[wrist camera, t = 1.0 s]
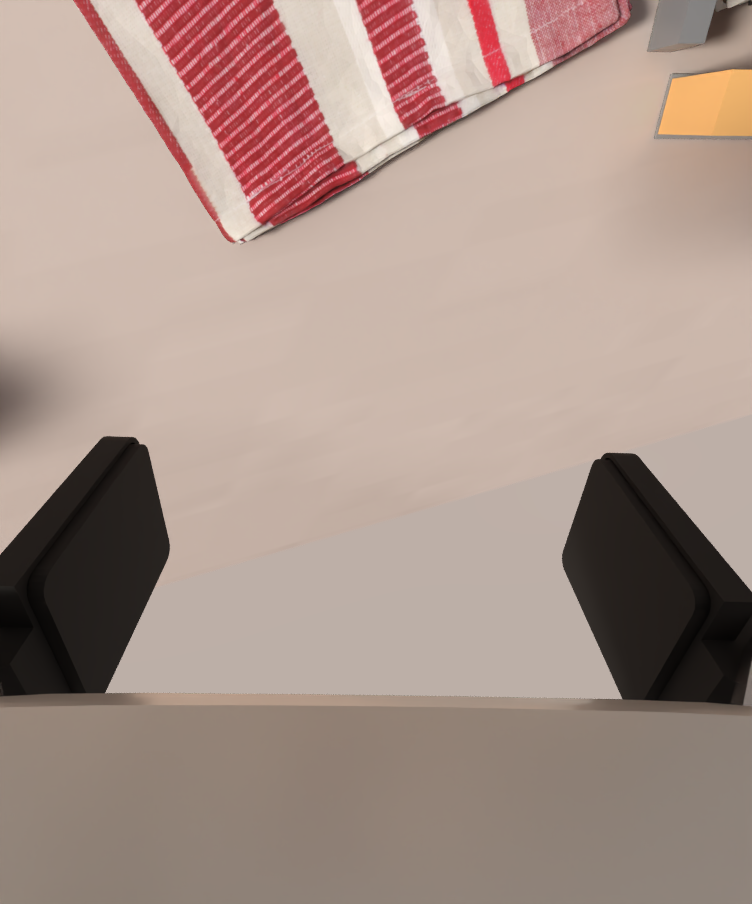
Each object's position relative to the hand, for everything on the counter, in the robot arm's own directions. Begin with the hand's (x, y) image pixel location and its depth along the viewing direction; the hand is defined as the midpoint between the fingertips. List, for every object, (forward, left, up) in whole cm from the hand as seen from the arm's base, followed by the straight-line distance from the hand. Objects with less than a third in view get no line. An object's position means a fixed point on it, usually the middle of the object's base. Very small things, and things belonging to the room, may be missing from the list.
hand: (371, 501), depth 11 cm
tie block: (-8, +20, -24) cm, 32 cm away
